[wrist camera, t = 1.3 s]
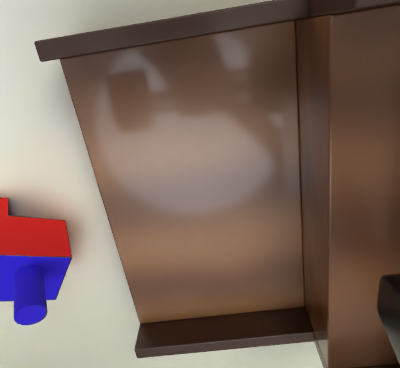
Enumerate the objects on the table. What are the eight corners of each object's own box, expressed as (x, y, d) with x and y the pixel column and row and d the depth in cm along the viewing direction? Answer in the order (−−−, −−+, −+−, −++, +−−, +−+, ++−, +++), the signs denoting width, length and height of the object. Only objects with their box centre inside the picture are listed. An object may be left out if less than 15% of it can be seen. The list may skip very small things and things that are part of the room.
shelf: (366, 282, 24) (464, 434, 15) (148, 305, 25) (115, 459, 16) (384, -14, 17) (606, -71, 7) (72, 39, 18) (-68, 46, 9)
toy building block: (49, 243, 25) (60, 339, 19) (-18, 239, 23) (-29, 347, 17) (62, 205, 24) (78, 295, 18) (-7, 196, 21) (-16, 297, 15)
